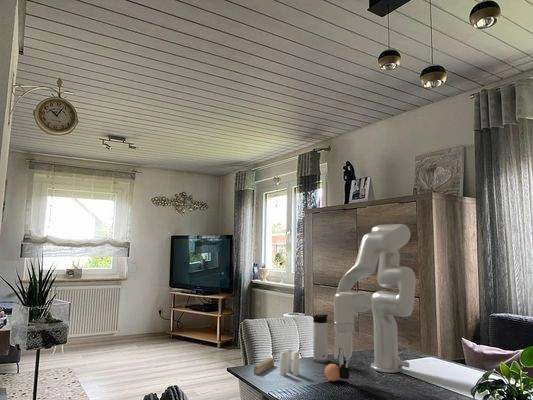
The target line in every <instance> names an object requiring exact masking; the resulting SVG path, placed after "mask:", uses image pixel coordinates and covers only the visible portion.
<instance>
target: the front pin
mask: <svg viewBox="0 0 533 400" xmlns="http://www.w3.org/2000/svg"><path fill="white" fill-rule="evenodd" d="M292 375H293V376H295V377H297V376H300V351H293V352H292Z"/></svg>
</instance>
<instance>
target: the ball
mask: <svg viewBox="0 0 533 400" xmlns="http://www.w3.org/2000/svg"><path fill="white" fill-rule="evenodd" d="M324 375H325V378H326V379H327V380H328V381H330V382H337V381H338V380H339V379H341V378H340V366H338V365H337V364H335V363H330V364H327V366H325V368H324Z"/></svg>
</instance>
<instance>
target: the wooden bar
mask: <svg viewBox="0 0 533 400" xmlns="http://www.w3.org/2000/svg"><path fill="white" fill-rule="evenodd" d="M274 365H275V359H274V357H268V358H266V359H265V360H262V361H261V362H259V363H257V364H255V365H254V366H253V375H258V376H259V375H261V374H262V373H263V372H265V371H267V370H269V369H270V368H272V367H274Z"/></svg>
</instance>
